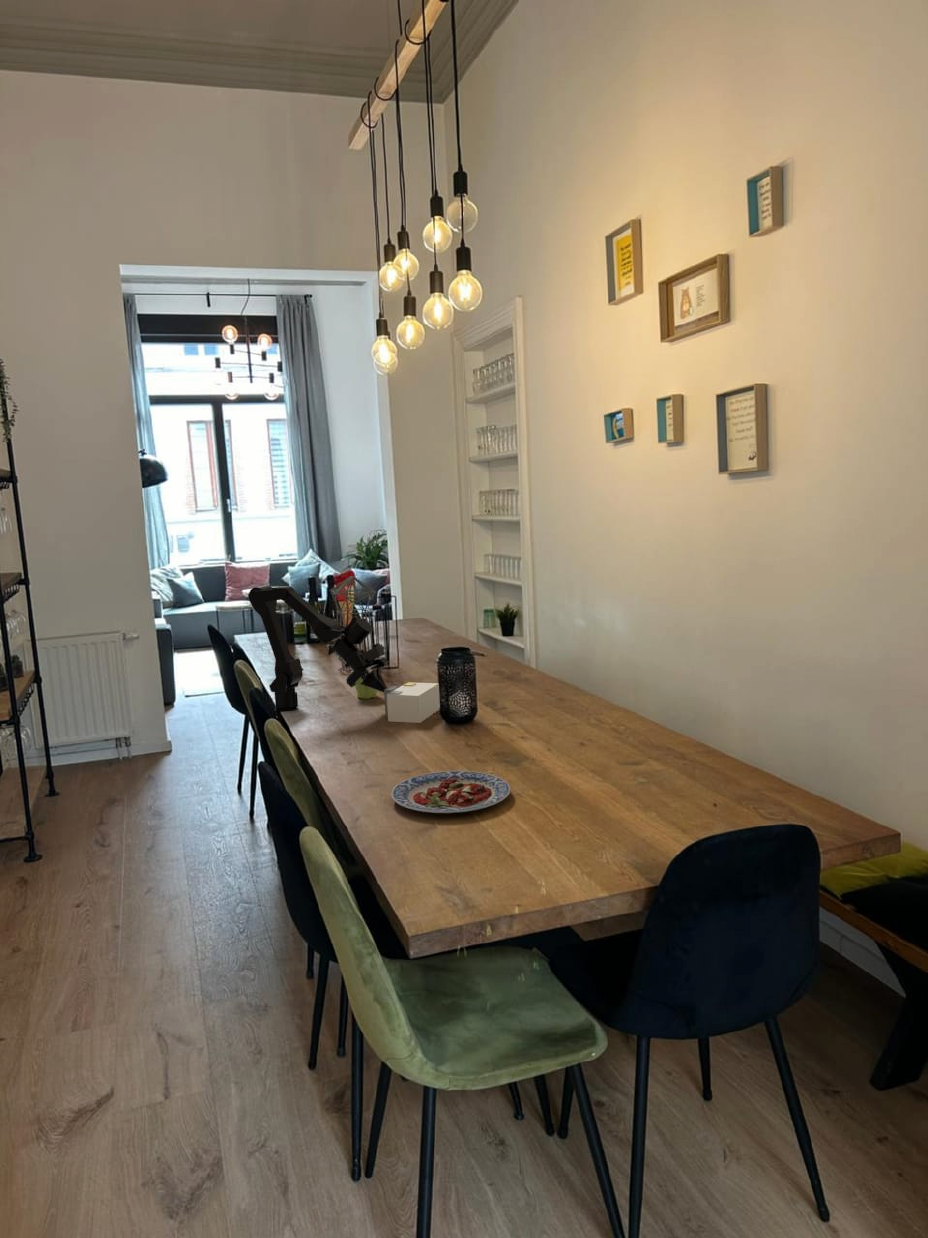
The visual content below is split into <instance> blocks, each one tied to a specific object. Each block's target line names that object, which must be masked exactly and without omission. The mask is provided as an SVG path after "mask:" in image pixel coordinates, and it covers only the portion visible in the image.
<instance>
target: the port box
mask: <svg viewBox="0 0 928 1238" xmlns="http://www.w3.org/2000/svg"><path fill="white" fill-rule="evenodd" d="M398 687H399V688H397V689H395V690H394V691H392V692H390V693H388V694H387V710H388V715H387V721H388V722H394V723H397V722H398V723H411V724H412V723H414V724H421V723H423V721H425V720H427V719H428V718H429V717H430V716H433V715H434V714H435V713H437V712H438V711H439V710H440V709H441V707H440V706H441V702H440V685H439V683H434V682H432V683H431V682H409V681H408V682H407V683H404V684H403V685H400V686H398ZM439 708H440V709H439ZM436 711H437V712H436ZM433 713H434V714H433ZM426 718H427V719H426Z"/></svg>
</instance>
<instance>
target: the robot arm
mask: <svg viewBox="0 0 928 1238" xmlns="http://www.w3.org/2000/svg"><path fill="white" fill-rule="evenodd" d="M248 601H249V602H250V605H251V606H252V608H253V610H254V611H255V612H256V613H257V614H258V615H259V616H260V618H261V621H262V624H263V626H264V629H265V630H264V631H265V632H266V637H267V639H268V642H269V644H270V648H271V651H272V654H273V656H274V657H273V658H274V659H275V663H274V674H275V676H274V677H275V679H274V680H272V682H271V683H270V684H269V685H268V686H269V690H270V691H271V693H274V702H275V703H274V704H275V709H274V711H275V712H282V710H283V711H284V710H286V711H296V710H298V707H299V700H298V692H297V691H296V688H297V687H299V684H300V681H301V680H302V678H303V675H304V673H303V671H304V668H303V667H302V665H301V659H300V658H294V657H293V656H292V654H291V652H290V649H289V646H288V643H287V641H286V637H285V635H284V631H283V627H282V625H281V623H280V619H279V617H278V613H277V607H278V606H277V605H278V601H282V602H284V603H285V604H286V605H287V606H288V607H289V608H291V609H292V610H293V611H294V612H295V613H296V614H297V615H298V616H299V617H300V618H301V619H303V621H305V622H306V623H307V624H308V625H309V626H310V628H311V631H312V633H313V634H314V635H315V637H316V638H317V639H318V641H320V642H321V643H323V644H328V643H331V642H333V641H335V642H334V643H333V644H331V645H328V646H327V648H328V650H327V653H328V655H329V656H331V655H332V654H336V653H337V654H338V655H339V656H340V659H341V658H342V659H343V661H345V662H344V663H345V664H344V666H346V667H347V668H349V667H350V670H353V672H352V671H351V673H350V674H349V675H348V676H347V678H346V680H345V681H346V684H347V686H349V688H353V687H356V682H357V681H358V679H359V678H362V680H363V681H362V683H361V685H365V686H368V687H371V688H374V689H376V690H377V691H379V692H382V693H384V690H385V689H386V688H388V686H387V684H386V682H385V681H384V678H383V676H382V670H383V669H384V667H386V665H387V664H388V663H389V660H388V659H387V658H386V657H385V656H384V655H386V653H385V646H383V645H382V644H380V642H377V643H375V644H373V646H372V648H371V649H369V651H368V650H365V648H364V649H362V648H361V649H360V648H358V646H357V645H362V642H363V641H365V640H367V636H368V637H369V635H370V633H371V632H373V629H374V628H373V627H372V624H371V625H370V624H369V621H367V622H366V621H365V620H364V618H363V619H362V618H360V617H359V616H357V615H356V616H353V617H352V619H351V620H350V622H349V623H348V624H347V625H345V626H343V625H342V626H341V625H340V622H338V623H337V620H336V621H335V619H332V617H328V616H326V615H325V614H324V615H323V614H322V613H320V612H319V611H318V610H317V609H316V608H315V607H314V606H312V605H311V604H310V603H309V602H308V601H307V600H306V599H305V598H304V597H302V596H301V595H300V594H299V593H298V592H297V591H296V590H295V588H294V587H292V586H291V585H285V586H275V587H272V586H271V585H269V584H264V585H259V586H255V587H253V588H251V589H250V590H249V592H248ZM344 635H345V636H344ZM340 636H341V639H339V638H340ZM342 636H343V637H342ZM337 639H338V640H337ZM336 640H337V641H336ZM339 656H338V657H339ZM383 656H384V657H383ZM346 667H345V668H346ZM284 712H285V711H284Z"/></svg>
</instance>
